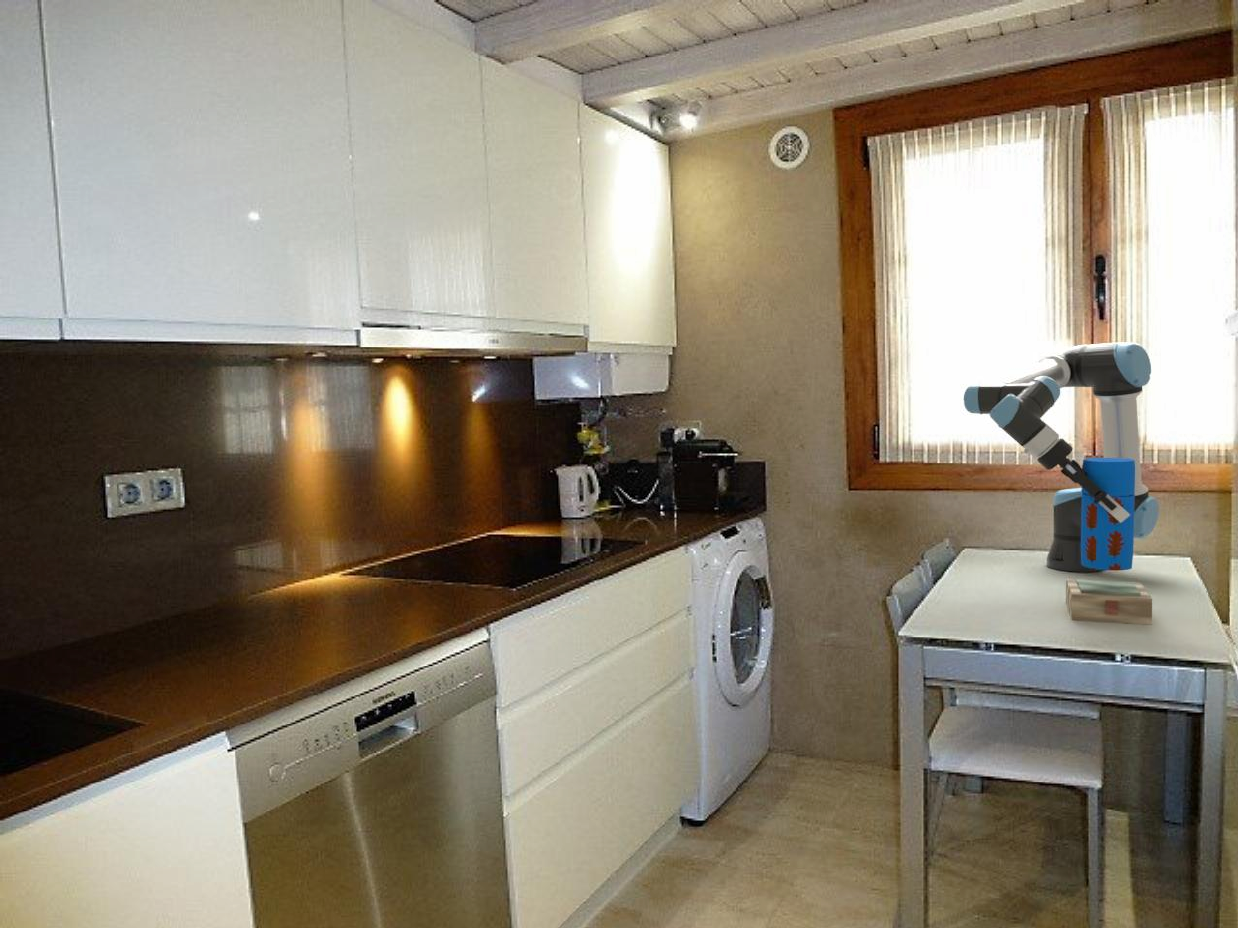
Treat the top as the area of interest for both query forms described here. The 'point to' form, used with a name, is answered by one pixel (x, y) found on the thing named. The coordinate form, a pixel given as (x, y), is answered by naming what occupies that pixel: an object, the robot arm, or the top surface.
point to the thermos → (1108, 515)
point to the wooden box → (1108, 601)
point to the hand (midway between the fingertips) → (1121, 515)
